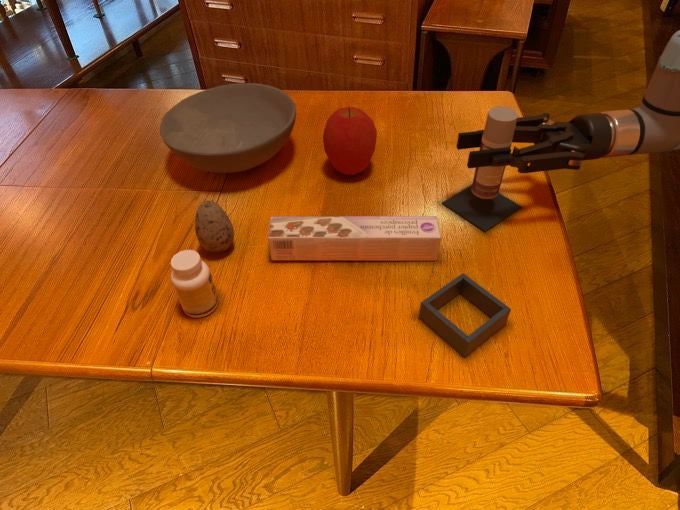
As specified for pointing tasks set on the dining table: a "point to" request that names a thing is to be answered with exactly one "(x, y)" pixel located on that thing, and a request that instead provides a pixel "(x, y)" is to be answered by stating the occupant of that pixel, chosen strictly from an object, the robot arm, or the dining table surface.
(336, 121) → the apple
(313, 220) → the box
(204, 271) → the supplement bottle
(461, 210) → the coaster
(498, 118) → the container
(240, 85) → the bowl
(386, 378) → the dining table surface
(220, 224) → the decorative egg
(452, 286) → the open box
